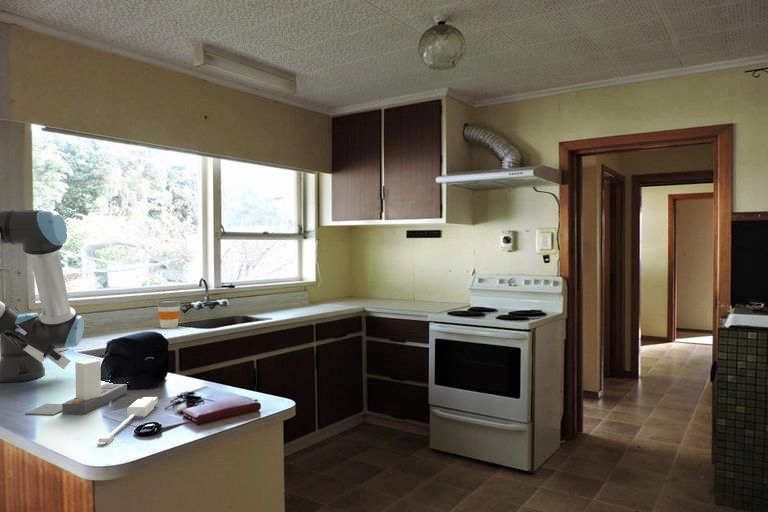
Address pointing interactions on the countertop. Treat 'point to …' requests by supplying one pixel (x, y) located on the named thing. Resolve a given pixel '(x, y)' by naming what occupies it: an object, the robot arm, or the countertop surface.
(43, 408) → the mat
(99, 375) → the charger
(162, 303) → the reusable coffee cup
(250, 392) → the countertop surface
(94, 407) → the strip
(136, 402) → the charging cable
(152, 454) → the countertop surface
